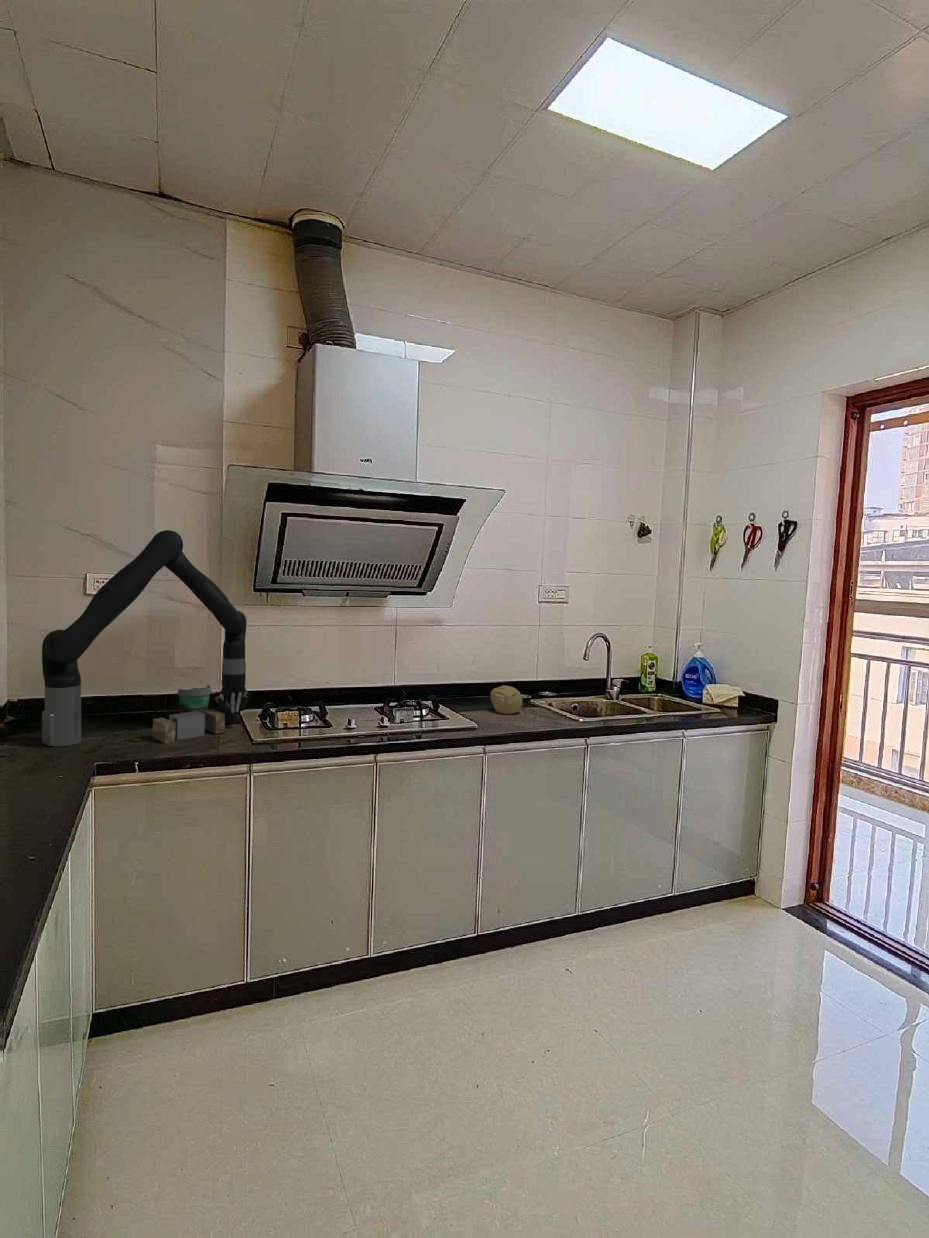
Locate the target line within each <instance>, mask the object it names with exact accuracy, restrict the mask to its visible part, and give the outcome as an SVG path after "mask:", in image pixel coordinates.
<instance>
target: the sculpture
mask: <svg viewBox="0 0 929 1238" xmlns="http://www.w3.org/2000/svg"><path fill="white" fill-rule="evenodd" d="M490 701H491V703H492V705H493V707H494V710H495V711H496V712H497V713H498V714H502V715H512V714H516V713H518V712H520V710H521V709H522V706H523V701H524V699H523V697H522V694H521V692H520V691H519V690H518V689H517V688H515V687H513V686H510V685H504V684H503V685H501V686H498V687H495V688H493V689H492V690H491V691H490Z"/></svg>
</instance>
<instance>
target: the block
mask: <svg viewBox="0 0 929 1238" xmlns="http://www.w3.org/2000/svg"><path fill="white" fill-rule="evenodd" d="M168 717H169V718H168V720H170V721H172V722H175V723H176V739H177V740H176V741H179V740H178V739H181V740H185V739H186V738H187V739H191V737H193V738H198V737H203V736H204V737H205V731H206V730H205V714H203V713H201V712H198V711H194V712H188V713H181V714H180V713H174V714H169V716H168ZM197 736H198V737H197ZM187 739H186V740H187Z"/></svg>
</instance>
